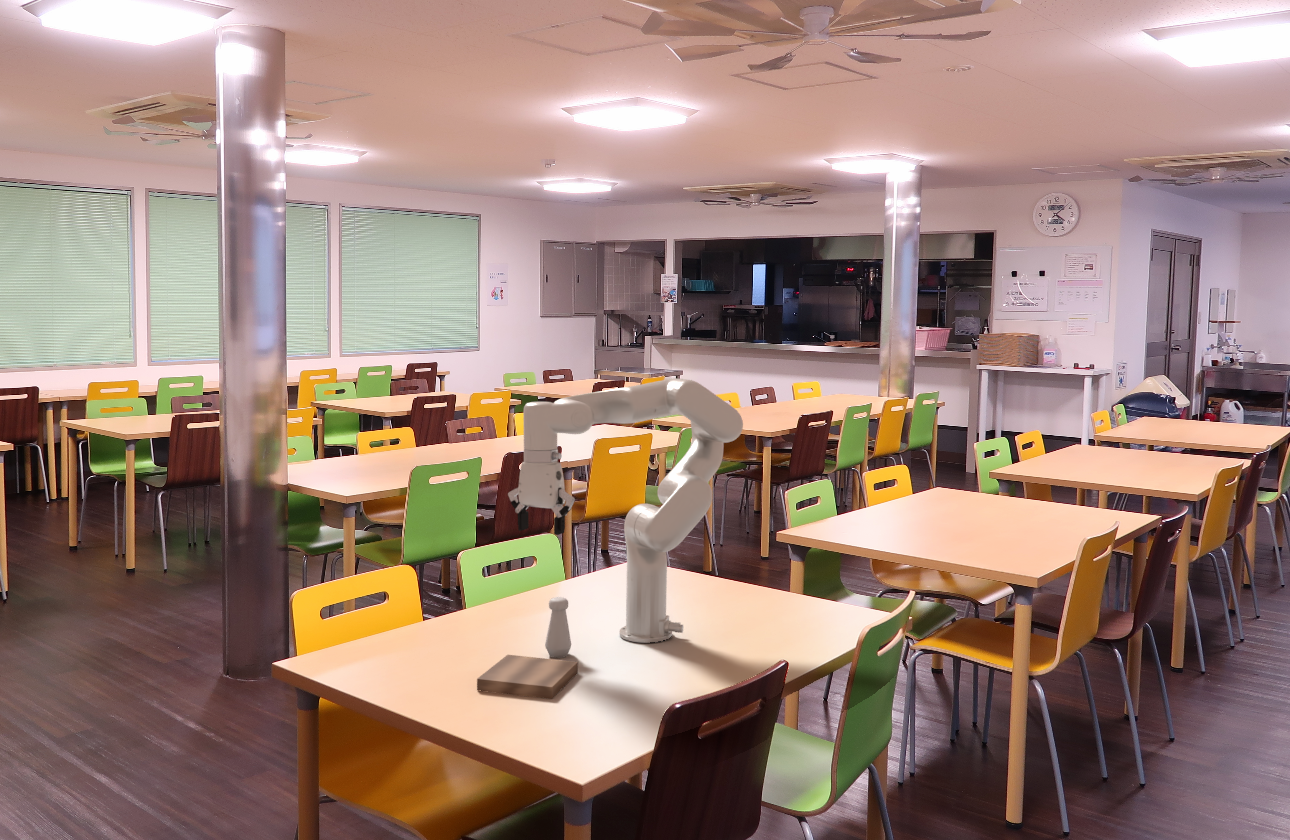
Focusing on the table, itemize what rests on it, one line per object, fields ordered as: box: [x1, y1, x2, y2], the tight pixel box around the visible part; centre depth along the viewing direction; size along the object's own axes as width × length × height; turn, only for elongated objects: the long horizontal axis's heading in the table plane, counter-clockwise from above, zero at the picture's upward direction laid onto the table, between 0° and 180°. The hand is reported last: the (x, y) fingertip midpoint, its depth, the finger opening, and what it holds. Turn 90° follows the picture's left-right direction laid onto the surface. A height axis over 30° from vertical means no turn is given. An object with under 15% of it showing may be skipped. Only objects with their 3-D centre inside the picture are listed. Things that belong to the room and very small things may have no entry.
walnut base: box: [476, 654, 579, 700], centre depth 215 cm, size 16×16×3 cm
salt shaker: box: [544, 596, 572, 659], centre depth 231 cm, size 6×6×13 cm
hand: (541, 531), depth 235 cm, fingers open, 9 cm apart
